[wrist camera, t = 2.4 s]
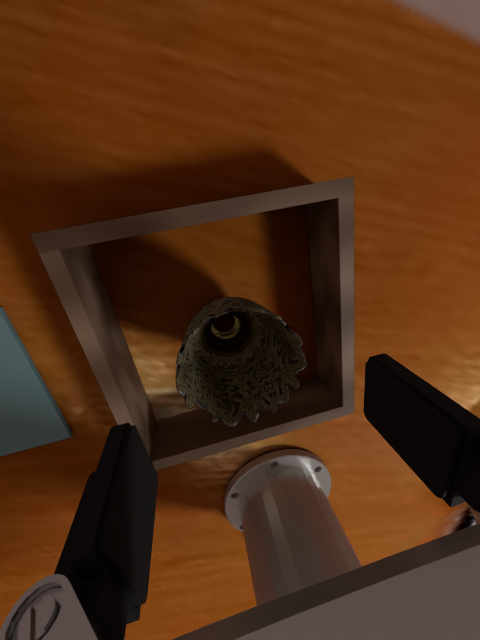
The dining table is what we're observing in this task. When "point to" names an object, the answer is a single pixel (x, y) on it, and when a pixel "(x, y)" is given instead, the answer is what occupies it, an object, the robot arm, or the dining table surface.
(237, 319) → the dark rounded piece
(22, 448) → the light blue square plate
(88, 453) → the dining table surface
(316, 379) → the grey square frame
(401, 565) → the robot arm
